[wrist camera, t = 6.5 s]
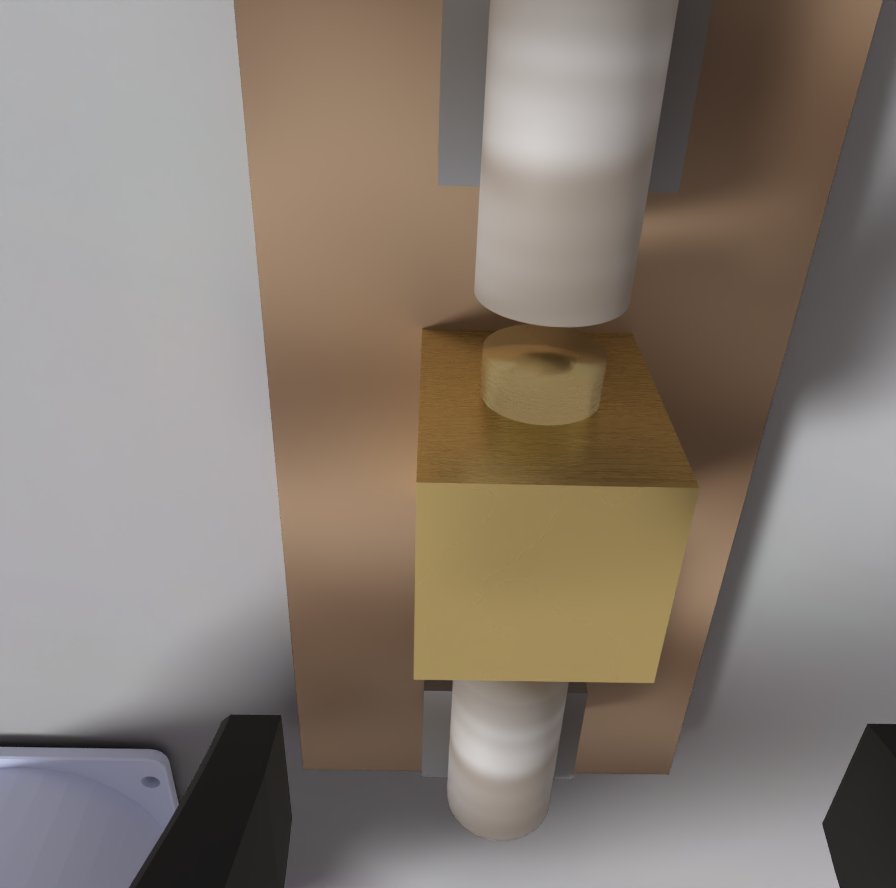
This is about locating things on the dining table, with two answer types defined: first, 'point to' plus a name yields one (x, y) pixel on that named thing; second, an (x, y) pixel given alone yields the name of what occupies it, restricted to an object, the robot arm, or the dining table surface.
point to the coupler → (544, 508)
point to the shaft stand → (519, 313)
